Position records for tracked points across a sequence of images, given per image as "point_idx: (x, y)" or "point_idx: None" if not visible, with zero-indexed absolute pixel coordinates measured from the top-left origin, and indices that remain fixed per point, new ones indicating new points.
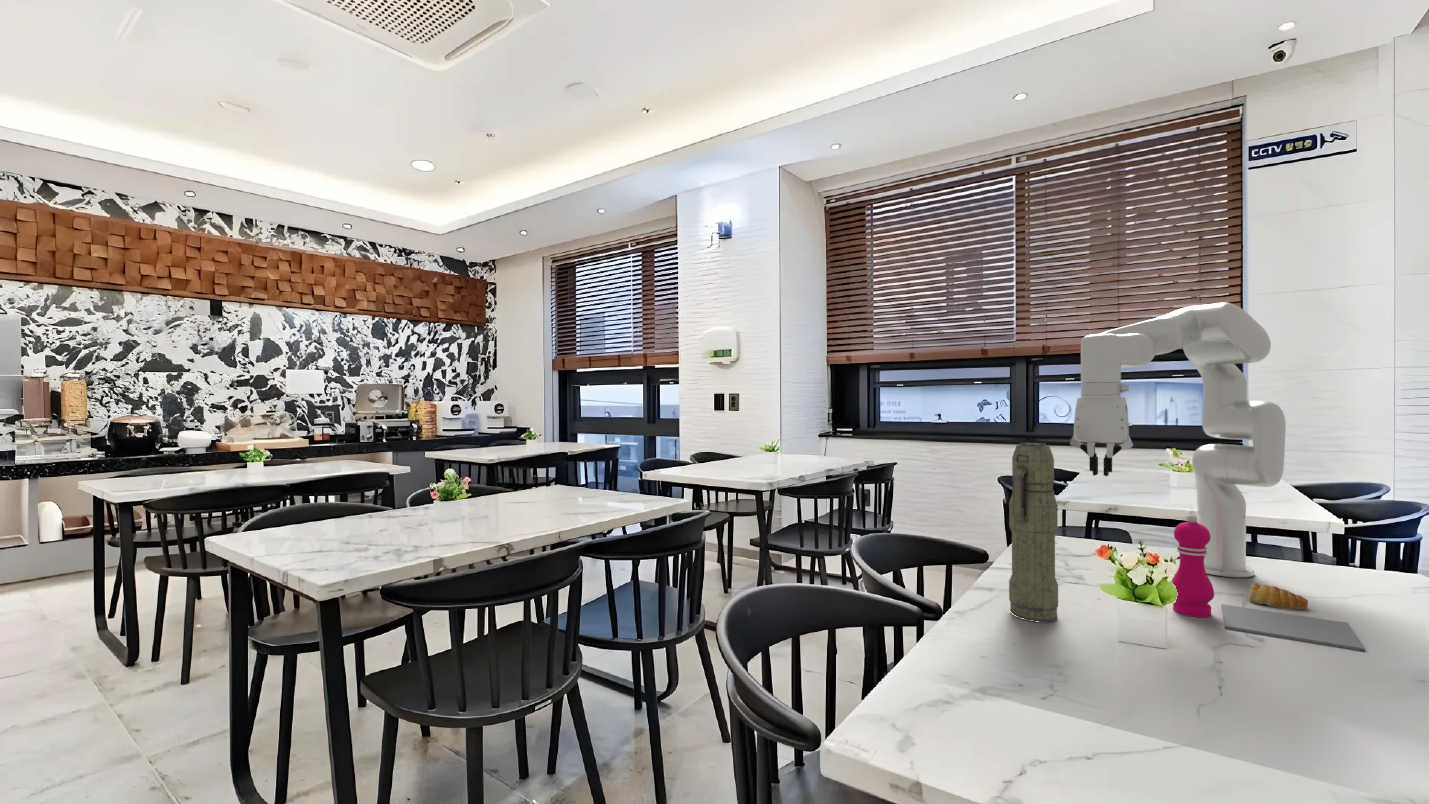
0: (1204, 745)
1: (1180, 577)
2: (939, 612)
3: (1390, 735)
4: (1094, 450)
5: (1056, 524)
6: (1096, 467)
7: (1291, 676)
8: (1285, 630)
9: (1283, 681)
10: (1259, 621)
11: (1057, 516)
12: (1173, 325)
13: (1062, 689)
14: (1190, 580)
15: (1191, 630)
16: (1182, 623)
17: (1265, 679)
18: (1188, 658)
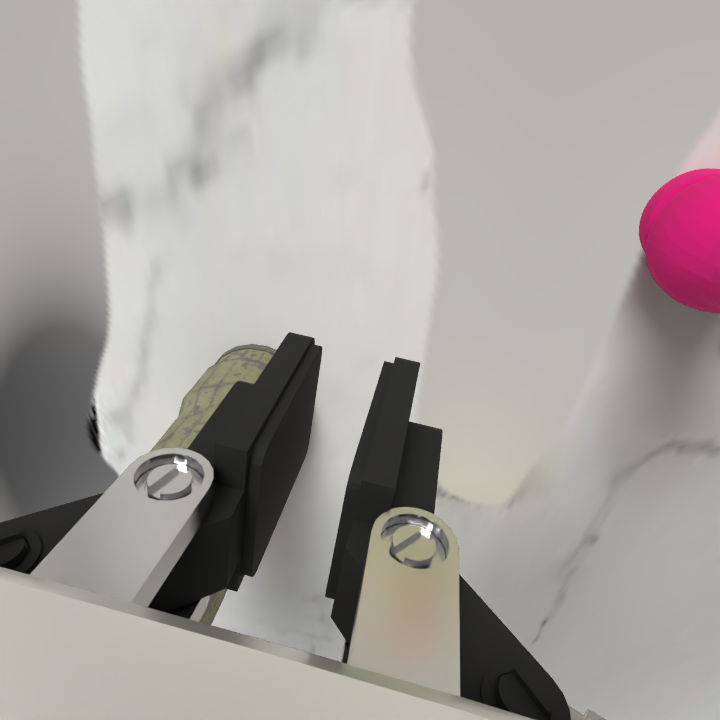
0: None
1: (684, 292)
2: (88, 430)
3: (712, 699)
4: (180, 545)
5: (217, 608)
6: (285, 502)
7: (699, 570)
8: None
9: (668, 590)
10: None
11: (207, 610)
12: None
13: (326, 655)
14: (709, 309)
15: (614, 386)
16: (613, 340)
17: (639, 588)
18: (538, 537)
